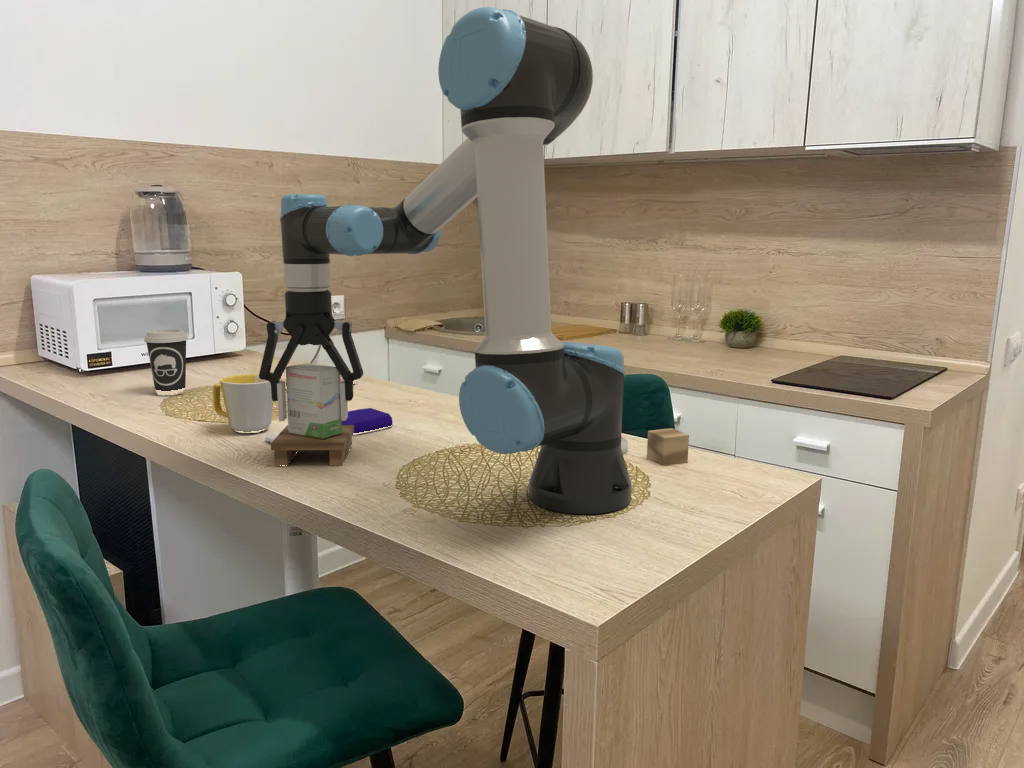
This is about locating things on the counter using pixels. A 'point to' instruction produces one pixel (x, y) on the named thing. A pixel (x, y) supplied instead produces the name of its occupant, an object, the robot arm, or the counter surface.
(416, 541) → the counter surface
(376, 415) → the purple bottle shape
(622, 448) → the pale grey dome
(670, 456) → the oak block
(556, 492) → the robot arm
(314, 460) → the counter surface
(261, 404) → the mug
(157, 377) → the coffee cup
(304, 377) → the ink box
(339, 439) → the stand
